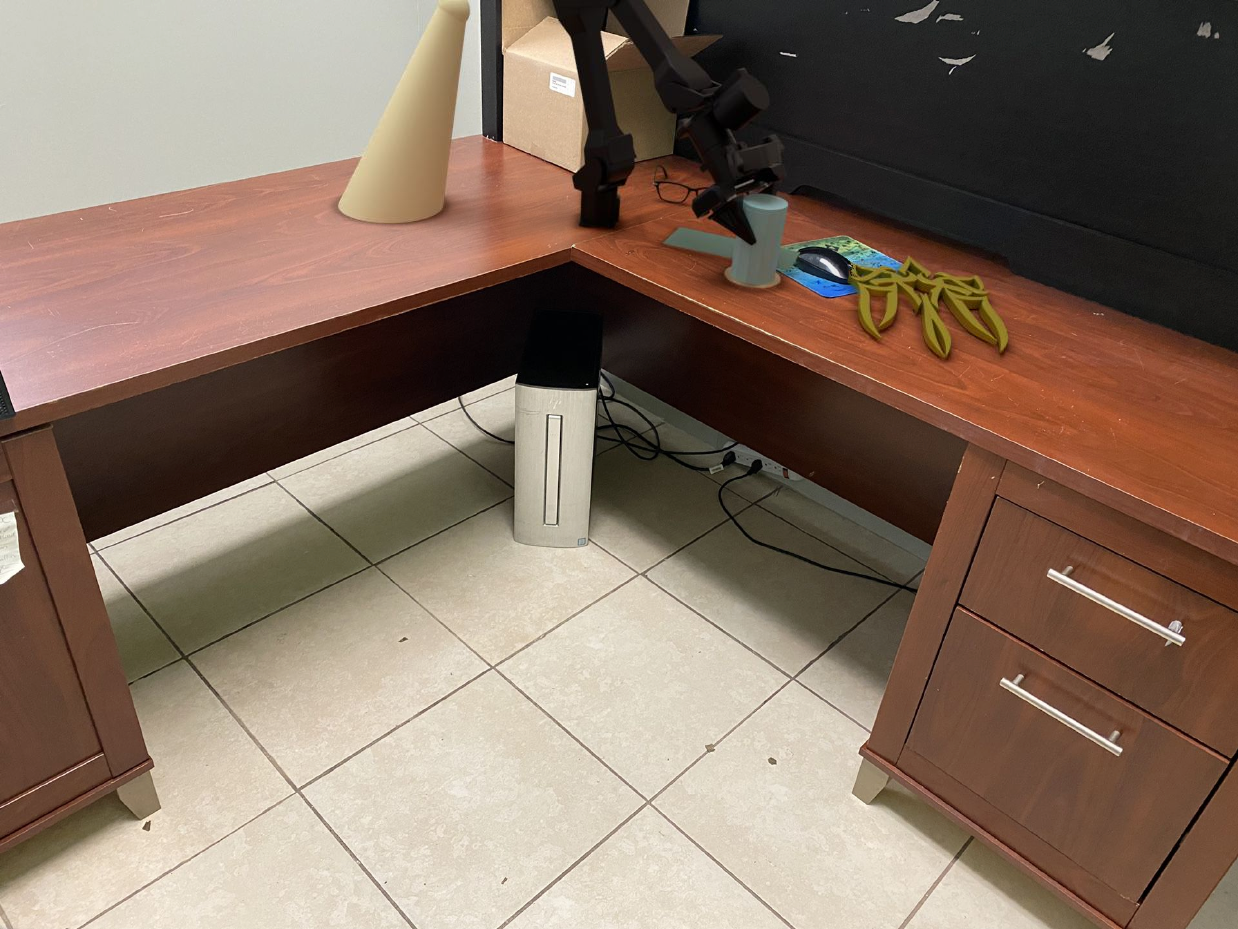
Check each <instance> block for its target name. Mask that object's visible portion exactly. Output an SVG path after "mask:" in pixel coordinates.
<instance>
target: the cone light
mask: <svg viewBox="0 0 1238 929" xmlns="http://www.w3.org/2000/svg"><path fill="white" fill-rule="evenodd" d="M470 15H471V6H470V2H469V1H468V0H438V2H437V7H436V9H435V11H433V15H432V17H430V20H429V22H428V24H427V26H426V28H425V30H424V32H423V34H422V36H421V38H420V40H419V42H418V44H417V46H416V48H415V50H414V52H413V54H412V56H411V58H410V60H409V62H408V64H407V66H406V68H405V69H404V72H403V74H402V76H401V79H400V80H399V82H398V84H397V87H396V88H395V90H394V92H393V94H392V96H391V97H390V100H389V102H388V104H387V106H386V108H385V110H384V112H383V114H382V116H381V118H380V120H379V122H378V124H377V126H376V128H375V130H374V132H373V134H372V136H371V138H370V140H369V142H368V144H367V145H366V148H365V149H364V151H363V154H362V156H361V158H360V160H359V162H358V164H357V165H356V168H355V170H354V172H353V174H352V176H351V177H350V179H349V181H348V183H347V186H346V187H345V189H344V192H343V194H342V196H341V198H340V199H339V202H338V205H337V208H338V210H339V212H341V213H342V214H343V215H345V216H347V217H348V218H352V219H354V220H358V221H363V222H369V223H374V224H404V223H412V222H418V221H423V220H426V219H428V218H431V217H433V216H435V215H437V214H439V213H440V212H441V211H442V210H443V208H444V203H445V194H446V187H447V179H448V172H449V171H448V170H449V162H450V155H451V149H452V148H451V147H452V138H453V130H454V123H455V115H456V107H457V98H458V91H459V84H460V83H459V82H460V75H461V67H462V58H463V51H464V42H465V36H466V35H465V33H466V27H467V26H466V25H467V22H468V20H469V18H470Z"/></svg>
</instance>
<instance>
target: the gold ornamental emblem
mask: <svg viewBox="0 0 1238 929" xmlns="http://www.w3.org/2000/svg"><path fill="white" fill-rule="evenodd" d="M850 263H851V265H853V268H854V269H852V270H851V272H852V273H851V274H852V276H851V274H850V271H849V270H848V278H847V284H849V285H851V286H852V287H853V289H854V290H855V292H856V294H857V298H858V299H857V300H858V302H857V303H858V304H857V317H858V320H859V323H860V324H861V326H862V328H863V329H864V330H865V332H866V333H867V334H869V335H871V336H873V337H874V338H876V339H877V340H880V341H883V337H882V336H881V335H880V333H879V332H880V331H883V330H885V329H886V328H888V327H890V326H891V325H892V324H893V322H894V320H895V317H896V313H897V309H898V300H899V298H898V293H899V294H900V295H902V297H904V299H905V300H907V302H908V303H909V304H910V305H911V306H912V308H913V309H912V310H913V312H914V315H915V316H917V315H918V314H919V312H920V315H921V328H922V335H923V339H924V342H925V344H926V345H927V346H928V348H929V349H930V350H931V351H932V352H933V353H934V354H936V355H937V356H939V357H940V358H943V359H947V357H948V356H949V353H950V350H951V346H952V336H951V334H950V332H949V330H948V328H947V326H946V325H945V323H944V321H942V319H941V317H940V315H938V313H939V310H940V307H939V302H938V300H939V298H940V297H941V299H942V301H943V303H944V304H945V306H946V307H947V309H948V310H949V311H950V312H951V314H952V315H953V317H954V318H955V319H956V320H957V321H958V322H959V324H960V325H961V326H962V327H963V328H964V329H965V330H966V331H967V332H969V333H971V334H972V335H973V336H975V337H976V338H979V339H981V340H983V341H985V342H987V343H989V344H991V345H994V346H996V345H997V344H998V347H999V353H998V354H1001V353H1003V352H1004V351H1005V349H1006V347H1007V345H1008V342H1009V333H1008V330H1007V328H1006V325H1005V324H1004V322H1003V320H1002V318H1001V317H1000V316H999V314H998V313H997V311H995V310H994V308H993V307H992V305H991V304H990V302H989V300H988V297H989V296H990V292H991V291H990V290H984V289H985V285H984V283H983V281H982V280H981V278H980V277H979V276H978V275H977V274H975V275H974V276H971V277H965V276H964V277H963V276H954V275H952V274H949V273H947V272H944V271H939V272H935V273H934V274H933V277H932V280H931V276H932V272H931V271H930V270H928V269H926V268H925V267H923V266H922V265H921V264H919V263H918V262H917V261H915V260H914V259H913V258H912V257H911V256H910V255H909V254H908V255H907V257H906V260H905V261H904V263H903V264H902V265H900V267H898V268H897V269H895V268H893V267H891V266H888V265H881V266H878V267H871V266H865V265H864V266H863V265H859V264H857V263H855V262H854V261H850ZM856 268H857V270H856ZM914 289H916V290H919V292H918V294H916V292H915V290H914ZM921 292H923V293H924V294H923V293H921ZM871 297H876V298H885V299H884V300H885V309H884V317H883V319H882V321H881V322H880V324H879V325H878V327H877V328H876V326H875V324H874V322H873V319H872V314H871V308H870V307H871V306H870V305H871V304H870V303H871ZM970 310H978V315H979V317H980V319H981V320H982V321H983V322H984V323H985V325H986V326H987V328H989V330H990V331H991V333H992V334H991V333H990V332H988V330H987V329H986V328H985V327H984V326H983V325H982V324H981V323H980V322H979V321H978V320H977V318H976V317H975V316H974V315H973V313H971V311H970Z"/></svg>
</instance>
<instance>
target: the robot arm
mask: <svg viewBox="0 0 1238 929" xmlns="http://www.w3.org/2000/svg"><path fill="white" fill-rule="evenodd" d="M551 3H552V5H553V9H554V11H555V14H556V18H557V21H558V22H559V24H560V25H561V27H562V28H563V30H565V32H566V33H567V35H568V36H569V38H570V42H571V46H572V52H573V57H574V62H575V67H576V72H577V77H578V83H579V88H580V94H581V98H582V104H583V109H584V114H585V119H586V124H587V135H586V140H585V143H584V147H583V160H584V164H583V165H582V166H581V167H580V168H579V169H578V170H577V171H576V172H575V173H574V174H572V175H571V181H572V186H573V189H574V190H576V191H580V192H581V193H580V210H579V211H580V215H579V220H578V227H579V226H580V227H588V228H590V227H591V228H601V229H616V227H617V226H616V225H617V223H619V222H620V213H621V212H620V211H621V198H622V197H621V194H619V193H618V192H619V188H620V187H624V186H626V184H627V181H628V178H629V177H630V176H631V175H632V173H633V171H634V170H635V166H636V161H635V159H637V158H638V155H637V154H636V150H635V148H634V137H633V135H632V133H626V134H625V133H624V131H623V130H622V129H621V128H620V126H619V124H618V121H617V115H616V110H615V102H614V98H613V92H612V88H611V81H610V77H609V76H610V75H609V70H608V65H607V61H606V60H607V59H606V54H605V48H604V43H603V42H604V41H603V37H602V36H603V35H602V27H603V23H604V20H605V15H606V12H607V9H606V8H608V9H609V10H610V12H611V13H612V15H613V16H614V18H615V19H616V21H617V22H618V24H619V25H620V26H621V28H622V29H623V31H624V33H625V34H626V36H628V38H629V39H630V41H631V42H632V44H633V45H634V46H635V48H636V50H637V51H638V52H639V54H640V56H641V57H642V58H643V59H644V61H645V63H646V64H647V66H648V67H649V69H650V71H651V73H652V77H653V85H654V86H653V87H654V89H655V92H656V93H657V95H658V97H659V99H660V101H661V103H662V106H663V108H664V109H665V110H666V111H667V112H668V113H669V114H674V115H683V114H685V113H689V112H690V113H691V112H695V111H696V112H695V113H694V114H693V115H691V117H689V118H683V119H679V120H678V125H677V129H676V132H675V139H676V140H680V139H684V138H688V137H689V138H690V140H691V142H692V144H693V146H694V148H695V150H696V152H697V153H698V155H699V157H700V159H701V161H702V162H703V164H702V165H700V166H699V169H700V171H701V173H703V174H704V173H706V172H708V173H709V175H710V177H711V179H712V181H713V182H714V183H713V184H711V185H709V186H707V187H708V188H707V189H703V191H702V192H701V193H698V196H695V197H694V198H693V199H692V200H691V210H692V212H693V214H694V216H695V218H696V219H697V220H699V219H701V218H703V217H706V216H707V217H706V218H707V220H708V221H713V222H715V223H716V224H718V225H720V226H722V227H723V228H725V229H726V230H728V231H729V232H731V233H732V234H734V235H735V236H736V235H737V236H738V237H739V238H741V239H742V240H744V241H745V242H746V243H748V244H749V245H754V244H755V243H756V242H757V241H756V238H755V235H754V233H753V230H752V228H751V226H750V224H749V221H748V219H747V217H746V215H745V213H744V211H743V200H744V196H745V195H744V194H746V195H749V194H768V195H773V196H777V194H778V191H779V188H780V185H782V182H783V181H782V179H784V178H785V177H787V176H788V172H787V170H786V169H785V167H784V164H783V163H782V162H783V161H782V156H781V155H782V154H783V153H784V150H785V145H784V144H782V141H781V139H779V137H778V136H777V134H775V133H774V134H771V135H767V136H764V137H762V138H761V139H760V143H759V145H755V146H752V147H748V146H747V143H746V142H744V141H743V140H741V141H739V142H738V141H737V140H736V139H735V137H734V135H733V133H732V132H731V131H733V132H738V131H741V130H742V129H743V128H745V127H746V126H747V125H748V124H749V123H750V122H751V121H753V120H754V119H756V117H757V116H759V115H760V114H761V113H763V112H764V111H765V110H767V108H768V107H769V106H770V96H769V93H768V91H767V89H766V87H765V85H763V84H762V83H761V82H760V81H759V80H758V79H757V78H756V77H754V75H751V74H749V72H748V71H747V69H746V68H745V67H743V68H739V69H736V70H735V71H733V72H732V74H730V75H729V77H728V79H727V80H726V81H724V82H723V83H722V84H720V83H718V82H717V81H714V80H712V79H711V76H709V74H708V73H707V72H706V71H705V70H704V69H703V68H702V67H701V66H700V65H699V64H698V63H697V61H695V60H694V59H693V58H691V57H689V56H687V55H685V54H684V53H682V52H681V51H680V49H678V48H677V46H676V45H675V43H674V42H673V41H672V39H671V38H670V36H669V35H668V33H667V32H666V31H665V29H664V28H663V26H662V24H661V23H660V22H659V20H658V19H657V18H656V16H655V15H654V13H653V11H652V10H651V9H650V8H649V6H648V4H647V3H646V1H645V0H551ZM709 105H710V107H709V108H707V109H705V107H706V106H709ZM703 108H704V109H703ZM711 212H712V213H711ZM710 213H711V214H710ZM709 214H710V215H709Z"/></svg>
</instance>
